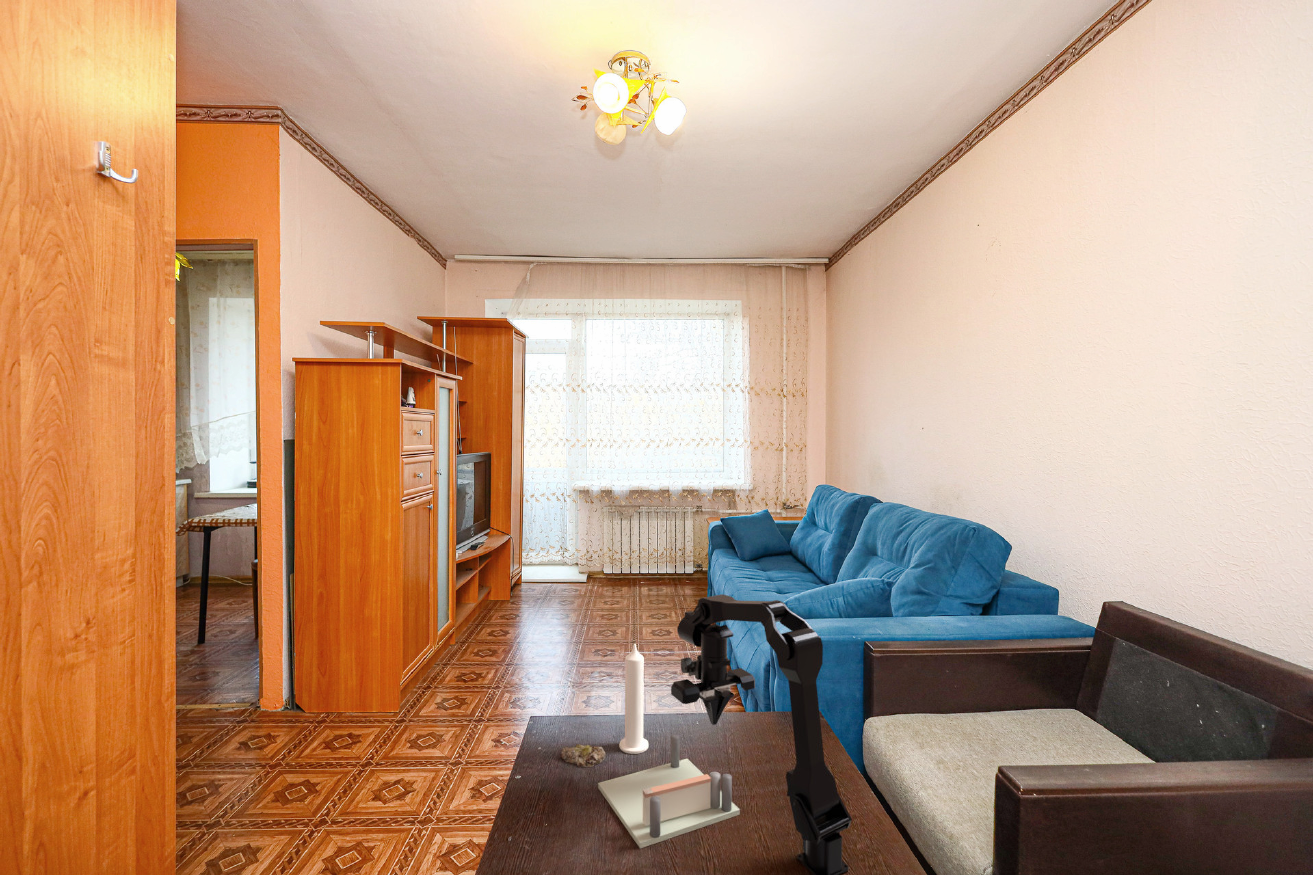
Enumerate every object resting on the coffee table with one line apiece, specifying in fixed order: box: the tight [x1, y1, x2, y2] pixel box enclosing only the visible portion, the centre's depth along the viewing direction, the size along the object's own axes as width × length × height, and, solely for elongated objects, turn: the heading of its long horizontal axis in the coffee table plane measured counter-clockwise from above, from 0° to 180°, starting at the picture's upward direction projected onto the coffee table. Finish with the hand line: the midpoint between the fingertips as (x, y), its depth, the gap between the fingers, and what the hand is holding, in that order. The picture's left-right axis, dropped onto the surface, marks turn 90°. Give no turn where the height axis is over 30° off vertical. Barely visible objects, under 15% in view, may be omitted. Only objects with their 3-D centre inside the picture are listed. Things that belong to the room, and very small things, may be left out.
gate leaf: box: [642, 771, 721, 826], centre depth 116 cm, size 16×2×6 cm, turn 113°
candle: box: [619, 643, 649, 755], centre depth 144 cm, size 7×7×25 cm
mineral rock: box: [560, 743, 606, 768], centre depth 139 cm, size 11×4×8 cm
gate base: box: [597, 734, 741, 849], centre depth 122 cm, size 21×22×8 cm
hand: (713, 723), depth 130 cm, fingers closed
